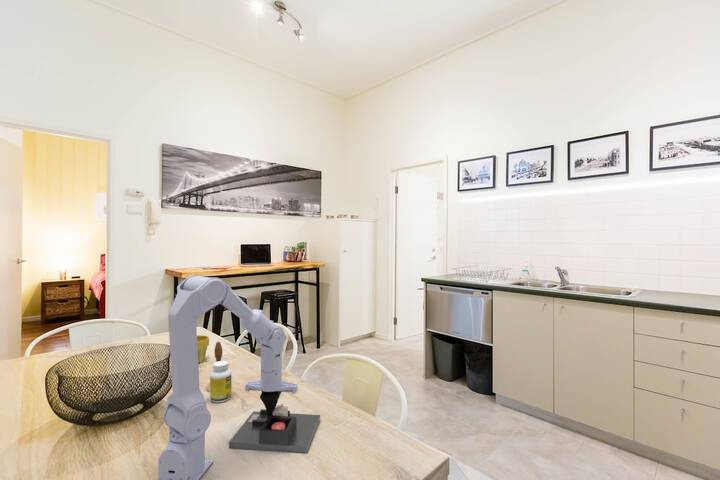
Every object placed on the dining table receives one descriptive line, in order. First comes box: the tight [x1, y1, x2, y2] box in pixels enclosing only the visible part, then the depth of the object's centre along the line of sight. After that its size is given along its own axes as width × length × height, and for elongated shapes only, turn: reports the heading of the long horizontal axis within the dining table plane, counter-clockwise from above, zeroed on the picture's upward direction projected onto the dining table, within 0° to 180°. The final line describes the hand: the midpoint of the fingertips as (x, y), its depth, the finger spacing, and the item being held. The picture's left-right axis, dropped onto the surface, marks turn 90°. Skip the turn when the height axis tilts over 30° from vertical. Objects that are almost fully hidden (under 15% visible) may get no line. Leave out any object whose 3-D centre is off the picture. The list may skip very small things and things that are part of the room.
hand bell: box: [205, 341, 223, 393], centre depth 120 cm, size 8×8×16 cm
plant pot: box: [197, 334, 210, 365], centre depth 144 cm, size 10×10×10 cm
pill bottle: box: [209, 360, 233, 403], centre depth 112 cm, size 6×6×12 cm
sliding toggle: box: [273, 403, 289, 416], centre depth 96 cm, size 4×3×4 cm
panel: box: [228, 408, 321, 454], centre depth 92 cm, size 15×20×5 cm
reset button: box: [272, 422, 285, 430], centre depth 89 cm, size 3×3×3 cm
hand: (271, 416), depth 96 cm, fingers closed
